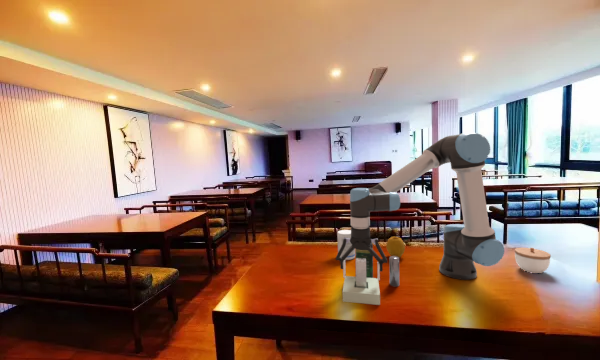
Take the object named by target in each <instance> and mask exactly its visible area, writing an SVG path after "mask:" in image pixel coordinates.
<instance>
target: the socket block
mask: <svg viewBox="0 0 600 360" xmlns="http://www.w3.org/2000/svg"><path fill="white" fill-rule="evenodd" d="M379 281H380V280H378V277H377V278H376V277H373V278H366V288H357V287H356V276H352V275H351V276H350V275H346V277H345V278H344V281H343V286H342V302H343V303H346V302H347V303H357V304H366V305H374V306H375V305H376V306H380V305H381V292H380V291H381V290H380V284H379V283H380V282H379Z"/></svg>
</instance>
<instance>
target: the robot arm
mask: <svg viewBox="0 0 600 360" xmlns="http://www.w3.org/2000/svg"><path fill="white" fill-rule="evenodd" d="M490 154H491V145H490V143H489V140H488V139H487V137H485V136H484V135H482V134H480V133H479V132H465V133H460V134H452V135H447V136H445V137H442V138H441V139H439V140H437V141H436V142H434V143H433V144H432V145H430V146H429V147H427V148H426V149H424V150H423V151H422V154H421V155H419V156H417V157H416V158H415V159H413V160H412V161H410V162H409V163H408V164H405V165H404V166H403V167H401V168H400V169H399V170H396V171H395V172H394V173H392V174H391V175H390V176H387V177H386V178H385V179H383V180H382V181H381V182H379V183H377V184H376V185H374V186H372V187H368V188H367V187H356V188H352V189H351V190H350V193H349V207H350V208H349V209H350V226H351V227H350V230H351V238H346V237H344V239H343V244H342V246H341V248H340V250H339V252H338V251H337V254H336V257H335V260H336V261H339V263H340V267H339V268H340V270H342V273H343V276H342V277H343V279H345V277H346V276H347V275H346V274H347V273H346V268H347V266H346V260H345V259H346V257H347V256H348V255H349V254H350V253H351V252H352V251H353V250H354V249H357V250H360V249H361V250H365V249H367V250H368V251H369V252H370V253H371V254H372V255H373V259H375V260H376V261H377V262H376V263H377V264H376V265H377V266H376V267H377V269H376V270H377V278H378V281H381V278H380V277H381V274H380V273H381V272H383V271H384V269H383V268H384V267H383V265H384V264H385V263H388V258H387V256H386V255H385V253H384V251H383V249H382V247H381V245H380V244H379V238H377V237H375V238H371V228H370V226H371V220H370V218H371V214H370V213H371V212H373V213H374V212H393V211H397V210H399V209H400V207H401V198H400V195H399V193H397V192H399V191H400V190H402V189H404V188H405V187H406V186H408V185H409V184H410V183H412V182H414V181H415V180H416V179H418V178H420V177H421V176H422V175H424V174H425V173H426V174H427V172H429V171H430V170H432V169H433V168H434V169H438V168H439V167H441V166H442V165H445V164H449V163H450V169H451V170H452V171H454V172H455V173H456V179H457V185H458V193H459V198H460V199H459V201H460V205H461V212H462V219H463V223H462V224H460V223H455V224H454V223H452V224H451V223H450V224H446V225H445V226H443V227H444V228H443V255H442V258H441V260H440V263H439V266H438V267H439V272H440V273H441V274H442V275H444V276H446V277H449V278H452V279H456V280H473V279H476V278H477V277H478V271H477V268H476V265H475V264H477V265H481V266H483V267H492V266H495V265H496V264H498V263H500V261H501V260H502V259H503V257H504V255H505V247H504V244H503V243H502V242H501V241H500V240H499V239H496V231H495V230H494V229H493V227H491V226H490V222H489V221H490V220H489V216H488V215H489V214H488V209H487V201H486V194H485V187H484V179H483V174H482V172H483V171H482V169H483V168H484V166H486V163H485V162H486V160H487V159H488V158H489V155H490ZM348 242H351V244H352V245H351V247H350V248H349V249H348V250H347V251H346V252H345V254H344V255H343V256H342V257H340V256H341V254H342V252H343V250H344V248H345V245H346V244H347V243H348ZM371 242H372V243H373V246H375V247H376V249H377V251H378V253H379V255H380V256H379V255H378V253H377V252H376V251H375V250H374V248H373V249H372V248H371V246H370V244H371Z"/></svg>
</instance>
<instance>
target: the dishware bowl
mask: <svg viewBox="0 0 600 360" xmlns="http://www.w3.org/2000/svg"><path fill="white" fill-rule="evenodd" d="M514 259H515V262H516V264H517V265H518V267H519V268H520V269H521V270H522V269H523V270H525V271H527V272H526V273H528V272H532V273H541V274H543V272H546V271H547V270H548V269H549V266H550V263H551V253H549V252H547V251H546V250H545V251H544V250H542V249H537V248H534V247H515V249H514ZM523 270H522V271H523ZM525 271H524V272H525ZM532 273H531V274H532Z"/></svg>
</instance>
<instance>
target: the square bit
mask: <svg viewBox="0 0 600 360" xmlns="http://www.w3.org/2000/svg"><path fill="white" fill-rule="evenodd" d="M355 277H356V287H357V288H366V259H362V258H356V257H355Z"/></svg>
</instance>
